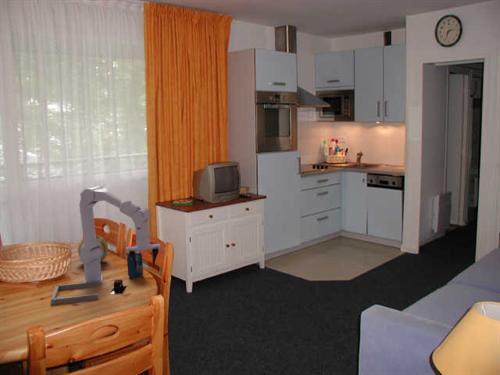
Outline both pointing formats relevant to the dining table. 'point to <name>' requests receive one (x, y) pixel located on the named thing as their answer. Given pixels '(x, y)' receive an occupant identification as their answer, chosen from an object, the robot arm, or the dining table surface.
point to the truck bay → (74, 298)
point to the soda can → (133, 271)
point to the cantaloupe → (102, 243)
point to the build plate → (118, 287)
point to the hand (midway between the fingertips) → (144, 266)
